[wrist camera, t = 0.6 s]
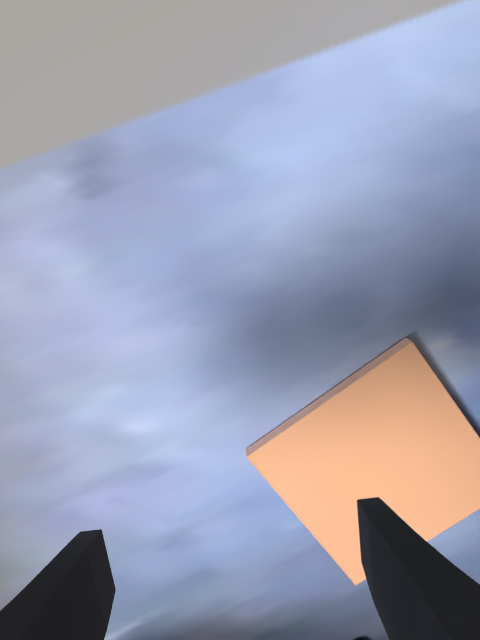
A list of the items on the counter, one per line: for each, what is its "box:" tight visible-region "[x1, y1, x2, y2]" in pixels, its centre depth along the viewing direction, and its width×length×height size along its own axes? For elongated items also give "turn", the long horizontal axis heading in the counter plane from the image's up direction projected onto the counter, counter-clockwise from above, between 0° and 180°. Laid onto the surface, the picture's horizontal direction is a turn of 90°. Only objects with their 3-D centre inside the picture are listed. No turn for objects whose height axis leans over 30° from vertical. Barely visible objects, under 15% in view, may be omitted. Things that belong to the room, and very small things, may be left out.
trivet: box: [246, 337, 480, 585], centre depth 22 cm, size 10×10×1 cm
